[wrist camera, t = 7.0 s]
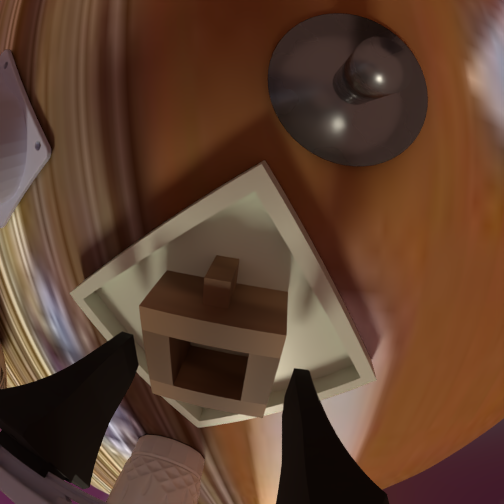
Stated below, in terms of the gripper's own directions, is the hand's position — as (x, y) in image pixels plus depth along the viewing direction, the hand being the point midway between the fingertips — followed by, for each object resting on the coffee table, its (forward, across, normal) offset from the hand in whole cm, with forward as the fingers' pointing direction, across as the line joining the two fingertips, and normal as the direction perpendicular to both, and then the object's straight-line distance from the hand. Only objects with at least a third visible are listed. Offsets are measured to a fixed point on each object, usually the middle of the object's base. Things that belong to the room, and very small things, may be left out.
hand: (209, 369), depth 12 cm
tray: (+3, 0, 0) cm, 3 cm away
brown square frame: (+3, 0, 0) cm, 3 cm away
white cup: (+3, +4, +18) cm, 19 cm away
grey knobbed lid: (+3, -4, -12) cm, 13 cm away
